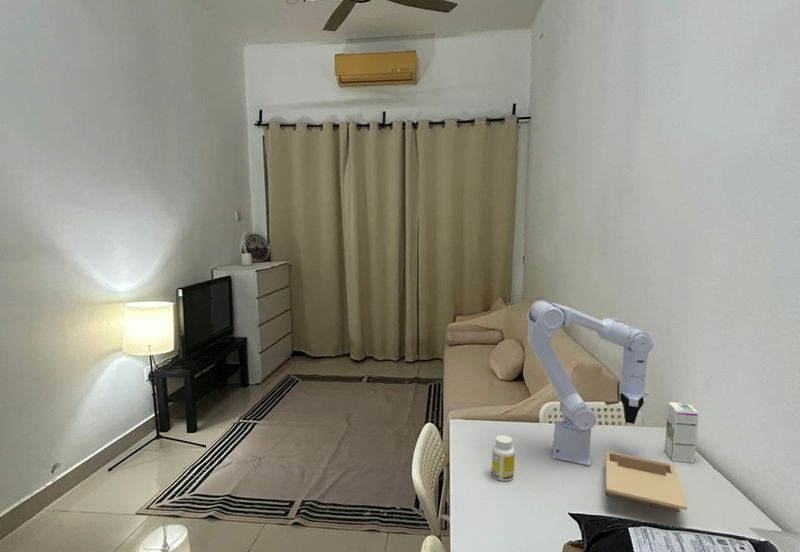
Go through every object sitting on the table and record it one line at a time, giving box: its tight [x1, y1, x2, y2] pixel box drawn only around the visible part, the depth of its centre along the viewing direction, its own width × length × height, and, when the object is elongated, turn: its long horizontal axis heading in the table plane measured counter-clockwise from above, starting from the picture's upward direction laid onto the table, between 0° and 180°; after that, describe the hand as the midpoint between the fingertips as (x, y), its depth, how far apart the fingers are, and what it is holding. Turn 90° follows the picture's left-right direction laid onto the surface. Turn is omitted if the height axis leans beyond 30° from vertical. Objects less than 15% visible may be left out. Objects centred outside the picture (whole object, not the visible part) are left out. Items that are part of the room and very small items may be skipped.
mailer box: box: [604, 450, 680, 513], centre depth 109 cm, size 15×13×4 cm
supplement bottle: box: [491, 434, 516, 482], centre depth 113 cm, size 5×5×10 cm
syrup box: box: [664, 401, 699, 464], centre depth 123 cm, size 6×6×14 cm
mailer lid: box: [605, 453, 688, 511], centre depth 102 cm, size 15×13×3 cm
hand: (629, 422), depth 122 cm, fingers closed
